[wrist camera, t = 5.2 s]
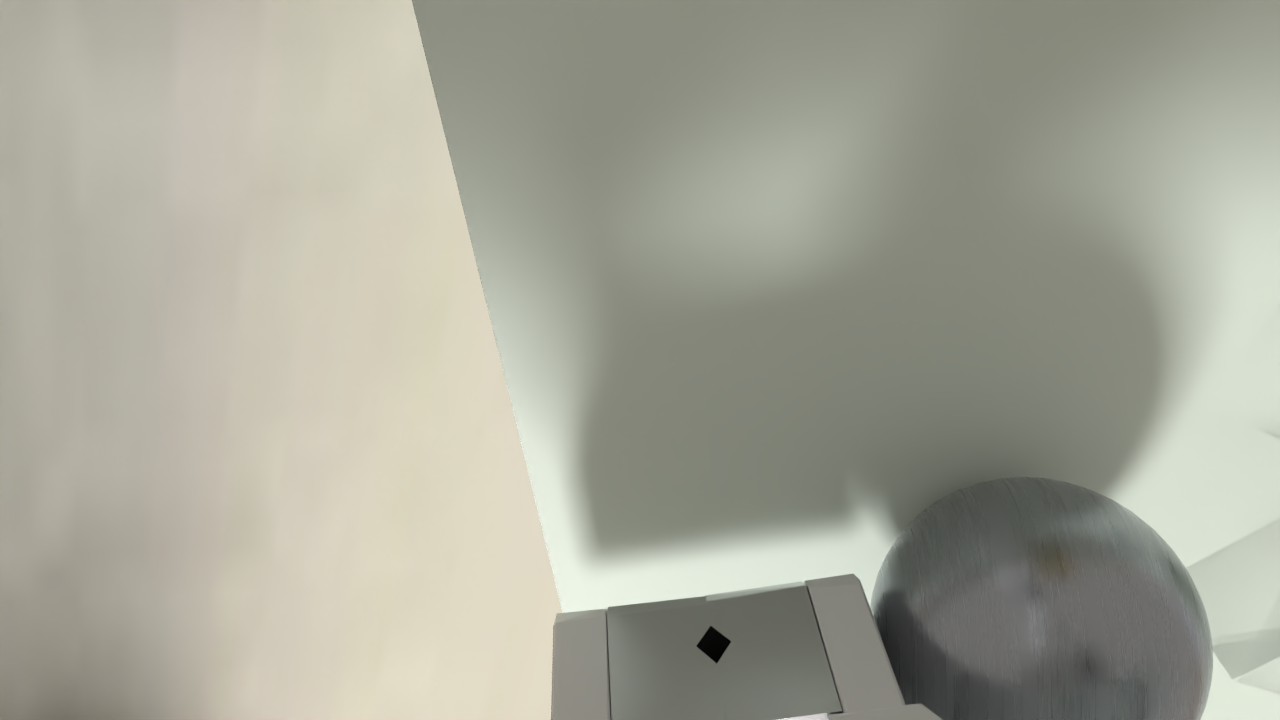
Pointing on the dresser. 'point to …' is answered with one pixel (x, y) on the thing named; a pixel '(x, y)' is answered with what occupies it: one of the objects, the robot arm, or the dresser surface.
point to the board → (878, 279)
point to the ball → (1041, 609)
